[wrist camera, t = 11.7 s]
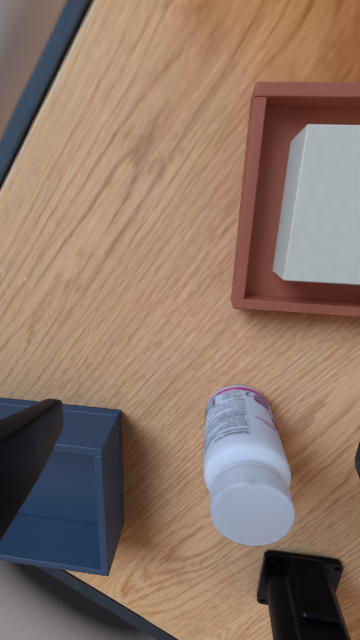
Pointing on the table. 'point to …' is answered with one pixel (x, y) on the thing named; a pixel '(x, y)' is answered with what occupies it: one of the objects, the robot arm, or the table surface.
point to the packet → (321, 207)
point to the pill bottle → (246, 468)
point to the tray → (267, 193)
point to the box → (72, 496)
